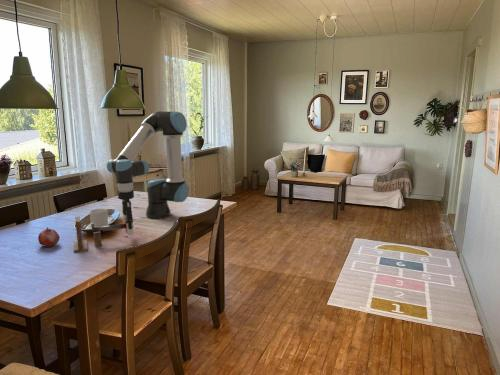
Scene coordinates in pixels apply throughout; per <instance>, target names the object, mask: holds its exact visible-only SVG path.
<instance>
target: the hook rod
mask: <svg viewBox="0 0 500 375" xmlns="http://www.w3.org/2000/svg"><path fill="white" fill-rule="evenodd" d="M124 219H125V224H124V223H121V224H120V223H119V224H112V225H108V226H102V227H94V223H91V222H90V228H91V227H92V229H91V230H92V231H91V232H92V233H94V232H100V233H102V232H101V231H103V232H108V231H115V230H123V229H124V230H125V233H126V234H127V223H126V222H127V218H124Z"/></svg>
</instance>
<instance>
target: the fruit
mask: <svg viewBox="0 0 500 375" xmlns="http://www.w3.org/2000/svg"><path fill="white" fill-rule="evenodd" d="M37 239H38V243H39V245H40V246H44V247H46V248H51V247H53V246H55V245H56V244H58V242H60V235H59V233H58V232H57V231H56V230H55V229H52V228H49V227H48V226H47V227H46V229H44V230H42V231H41V232H39V234H38V238H37Z"/></svg>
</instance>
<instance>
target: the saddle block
mask: <svg viewBox="0 0 500 375" xmlns="http://www.w3.org/2000/svg"><path fill="white" fill-rule="evenodd" d="M101 233H102V232H93V240H94V247H95V248H97V247H102V236H101V235H102V234H101Z"/></svg>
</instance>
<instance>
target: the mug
mask: <svg viewBox="0 0 500 375" xmlns="http://www.w3.org/2000/svg"><path fill="white" fill-rule="evenodd" d="M89 218H90V224H91V223H94V227H102V226H109V212H108V210H107V209H106V208H96V209H92V210H90V211H89ZM91 228H92V227H91V226H90V229H91Z"/></svg>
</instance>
